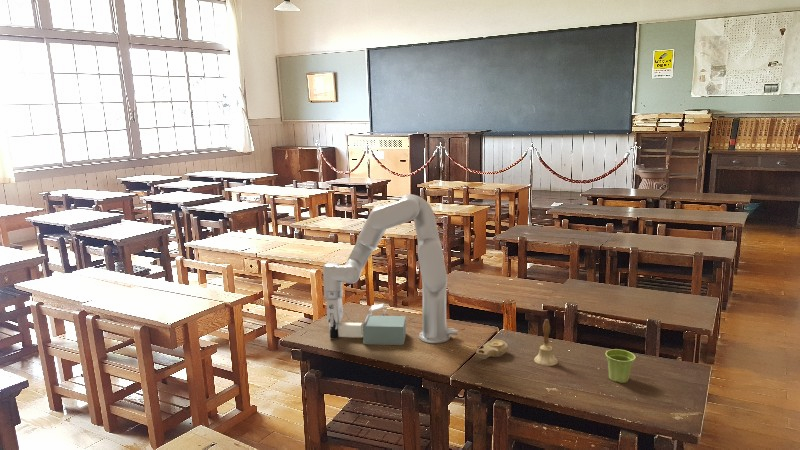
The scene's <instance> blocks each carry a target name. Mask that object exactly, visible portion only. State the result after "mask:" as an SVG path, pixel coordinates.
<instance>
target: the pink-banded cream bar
mask: <svg viewBox="0 0 800 450" xmlns="http://www.w3.org/2000/svg"><path fill="white" fill-rule="evenodd" d="M334 325H335V324H334ZM337 329H338V338H363V322H341V321H340V322H339V323H337ZM328 331H329V334H330V323H328Z"/></svg>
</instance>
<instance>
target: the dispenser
mask: <svg viewBox="0 0 800 450" xmlns="http://www.w3.org/2000/svg"><path fill="white" fill-rule="evenodd" d="M369 314H370V313H369ZM369 314H367V315H366V317H365V319H364V321H363V323H362V339H363V340H362V342H363V345H388V346H389V345H390V346H392V345H393V346H394V345H395V346H404V344H405V340H406V334H407V331H406V330H407V329H406V328H407V327H406V325H407V324H406V320H407V319H406V318H407V317H406V315H371V314H370V315H369Z"/></svg>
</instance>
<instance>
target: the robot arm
mask: <svg viewBox="0 0 800 450" xmlns="http://www.w3.org/2000/svg"><path fill="white" fill-rule="evenodd" d="M410 221H413V222H414V228H415V232H416V233H415V234H416V239H417V259H418V263H419V264H418V265H419V269H420V275H421V282H422V283H421V285H422V330H421V331H420V332H419V333H418V338H419V339H420V340H421V341H422V342H424V343H429V344H442V343H445V342H447V341H449V340H450V339H451V335H456V336H458V329H455V328H453V327H452V328H449V327H448V324H447V283H448V274H447V268H446V263H445V257H444V251H443V246H442V243H441V239H440V234H439V229H438V226H437V225H438V224H437V219H436V216H435V213H434V210H433V209H432V207H431V205H430V203H429V202H428V201H427V200H425V198H422V197H421V196H419V195H416V194H411V193H409V194H404V195H402V196H401V198H400V199H399V200H398V201H396V202H393V203H391V204H388V205H384V204H378V205H375V206H374V207H373V208H372V209H371V210H370V213H369V215H368V217H367V219H366V220H365V222H364V224H363V226H362V228H361V229H360V232H359V234H358V235H357V238H356V242H355V244H354V246H353V248H352V250H351V252H350V254H349V256H348V257H347V260H346V262H345V264H344V265H342V264H341V263H339V262H335V261H334V262H327V263H324V264H323V266H322V274H323V275H322V276H323V298H324V299H326V322H327V323H328V324H330V333H329V338H330V339H332V340H334V339H337V340H338V338H339V337H338V329H337V323H339V322H340V323H341V321H342V319H343V317H344V311H343V299H342V298H343V297H344V292H343V291H344V290H343V283H345V284H355V283H357V282H358V281H359V279H360V277H361V275H362V272H363V270H364V268H365V266H366V264H367V263H368V260H369V258H370V257H371V255H372V253H373V252H374V251H375V250H376V249H377V248H378V246H379V244H380V242H381V239H382V238H383V236H384V235H385V232H386V230H387V229H390V228H394V227H397V226H399V225H402V224H405V223H408V222H409V223H410ZM334 324H335V325H334Z"/></svg>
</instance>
